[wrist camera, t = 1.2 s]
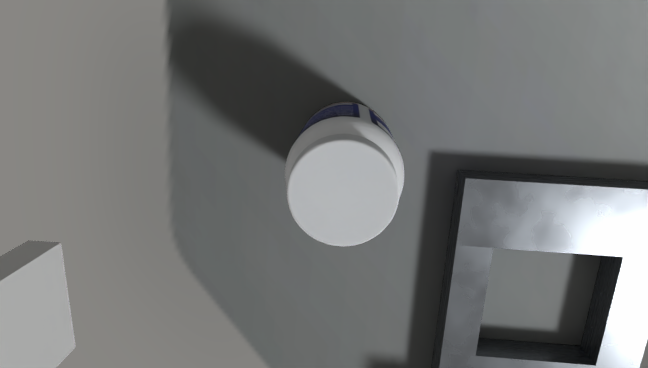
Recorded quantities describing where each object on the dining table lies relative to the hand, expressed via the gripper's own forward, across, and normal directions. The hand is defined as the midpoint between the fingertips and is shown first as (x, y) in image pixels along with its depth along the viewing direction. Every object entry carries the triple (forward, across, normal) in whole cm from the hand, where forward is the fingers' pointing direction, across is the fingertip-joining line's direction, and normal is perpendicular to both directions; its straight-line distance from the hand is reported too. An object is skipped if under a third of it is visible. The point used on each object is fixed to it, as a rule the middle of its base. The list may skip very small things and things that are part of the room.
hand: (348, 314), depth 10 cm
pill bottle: (+19, 0, 0) cm, 19 cm away
